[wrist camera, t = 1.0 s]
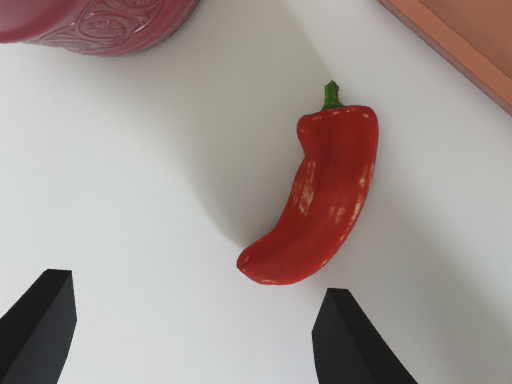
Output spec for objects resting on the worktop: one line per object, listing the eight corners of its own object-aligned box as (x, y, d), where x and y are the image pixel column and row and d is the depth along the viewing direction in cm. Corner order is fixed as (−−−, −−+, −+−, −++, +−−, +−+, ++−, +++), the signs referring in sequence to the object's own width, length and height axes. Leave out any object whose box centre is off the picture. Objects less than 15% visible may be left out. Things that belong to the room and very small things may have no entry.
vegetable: (277, 66, 19) (218, 274, 24) (379, 109, 16) (288, 334, 21) (329, 70, 22) (268, 252, 28) (421, 107, 20) (334, 302, 25)
